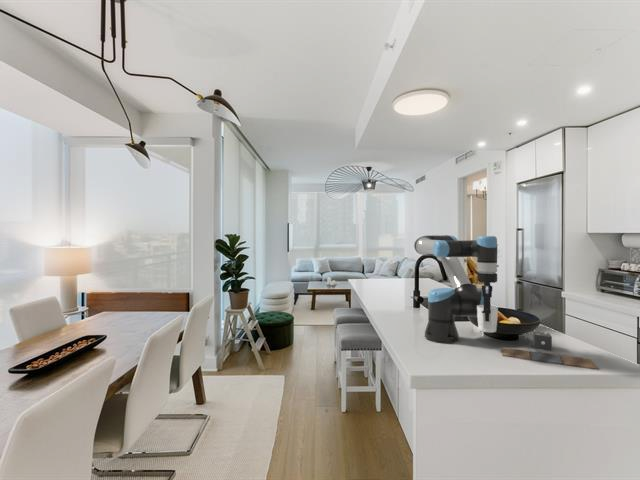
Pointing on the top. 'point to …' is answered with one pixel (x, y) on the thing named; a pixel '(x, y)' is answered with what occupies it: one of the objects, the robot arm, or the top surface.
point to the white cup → (493, 318)
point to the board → (549, 358)
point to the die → (542, 341)
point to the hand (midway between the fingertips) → (487, 326)
